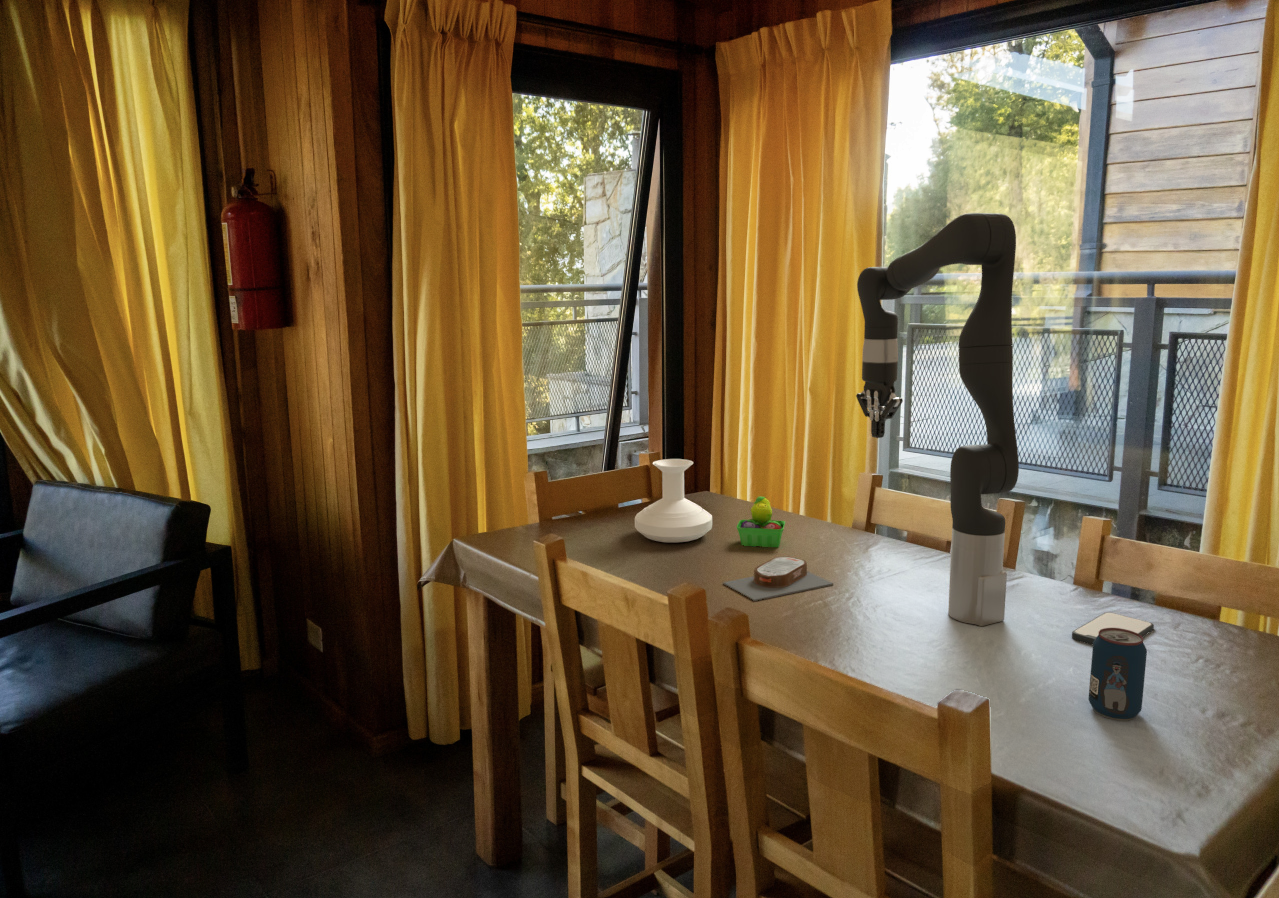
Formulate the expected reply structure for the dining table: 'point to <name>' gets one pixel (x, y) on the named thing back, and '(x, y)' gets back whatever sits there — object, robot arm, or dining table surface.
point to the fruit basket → (761, 526)
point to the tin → (780, 572)
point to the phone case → (1110, 626)
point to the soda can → (1117, 674)
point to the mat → (761, 592)
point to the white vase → (673, 509)
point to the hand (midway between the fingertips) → (877, 437)
